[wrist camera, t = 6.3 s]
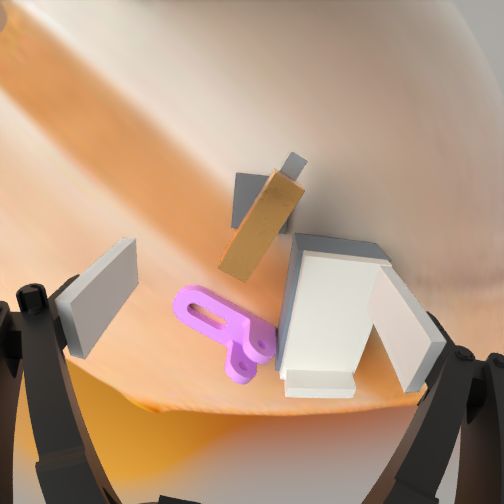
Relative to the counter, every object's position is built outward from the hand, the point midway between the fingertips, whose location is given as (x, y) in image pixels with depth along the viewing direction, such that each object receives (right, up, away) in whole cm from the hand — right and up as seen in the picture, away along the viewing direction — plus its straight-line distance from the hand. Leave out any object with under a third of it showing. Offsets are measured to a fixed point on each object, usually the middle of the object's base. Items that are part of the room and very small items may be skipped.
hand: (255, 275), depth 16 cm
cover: (+8, -6, +17) cm, 20 cm away
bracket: (-4, -7, +23) cm, 25 cm away
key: (+1, +7, +16) cm, 18 cm away
